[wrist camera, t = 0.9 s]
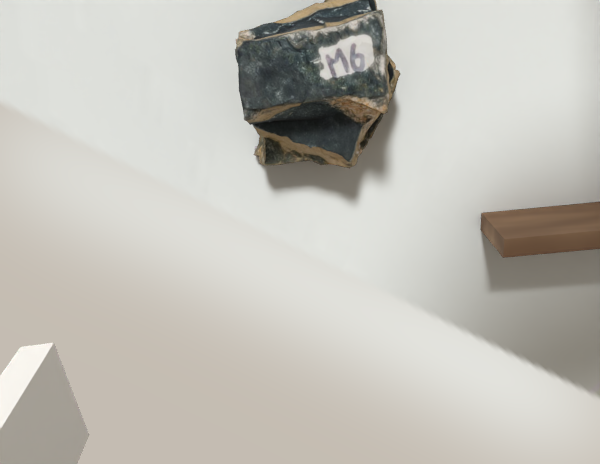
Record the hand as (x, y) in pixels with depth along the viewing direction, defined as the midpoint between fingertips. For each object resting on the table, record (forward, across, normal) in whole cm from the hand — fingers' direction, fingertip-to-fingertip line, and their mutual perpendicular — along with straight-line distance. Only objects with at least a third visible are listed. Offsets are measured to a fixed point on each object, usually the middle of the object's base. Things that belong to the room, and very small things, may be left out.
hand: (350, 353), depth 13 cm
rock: (+23, +1, +2) cm, 23 cm away
